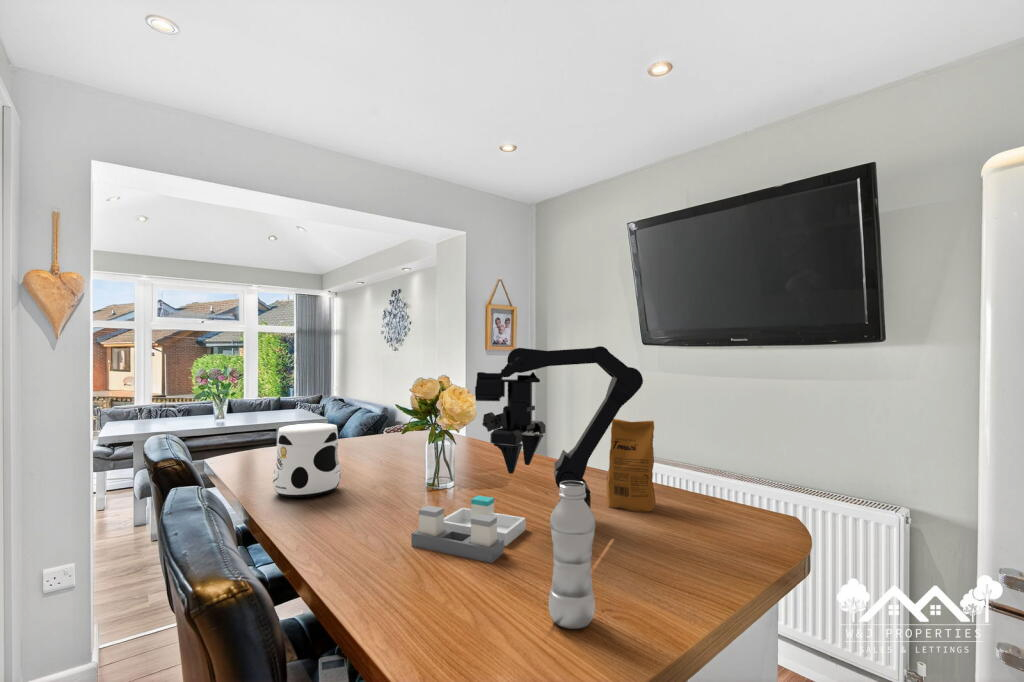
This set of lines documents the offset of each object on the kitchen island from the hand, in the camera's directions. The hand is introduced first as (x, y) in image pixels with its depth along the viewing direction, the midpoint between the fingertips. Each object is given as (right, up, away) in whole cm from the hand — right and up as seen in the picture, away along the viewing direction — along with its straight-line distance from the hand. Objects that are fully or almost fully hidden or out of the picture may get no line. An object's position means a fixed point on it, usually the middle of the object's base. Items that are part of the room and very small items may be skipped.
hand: (519, 469), depth 112 cm
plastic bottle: (+7, -11, -42) cm, 44 cm away
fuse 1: (-18, -11, -15) cm, 26 cm away
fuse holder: (-12, -12, -18) cm, 25 cm away
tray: (-8, -12, -8) cm, 16 cm away
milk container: (-58, -12, +21) cm, 63 cm away
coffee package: (+29, -13, +12) cm, 33 cm away
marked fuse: (-8, -11, -8) cm, 16 cm away
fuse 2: (-7, -11, -20) cm, 24 cm away
